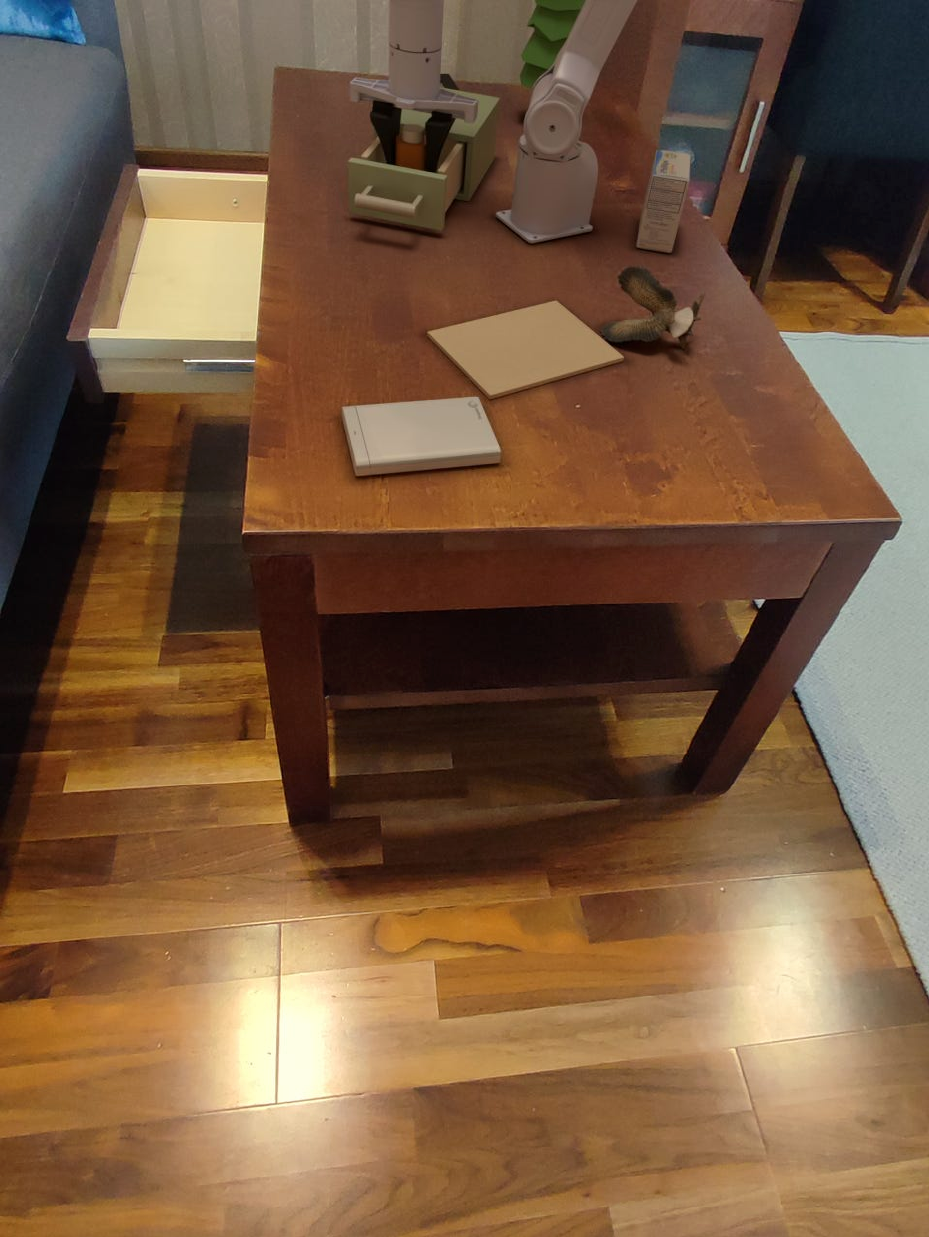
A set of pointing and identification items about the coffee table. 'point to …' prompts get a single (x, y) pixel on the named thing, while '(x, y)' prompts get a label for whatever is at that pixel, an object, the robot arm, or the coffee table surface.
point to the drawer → (406, 186)
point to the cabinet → (468, 138)
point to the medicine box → (664, 201)
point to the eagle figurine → (658, 302)
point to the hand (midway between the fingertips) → (411, 176)
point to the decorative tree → (547, 36)
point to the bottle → (411, 148)
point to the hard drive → (419, 436)
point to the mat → (524, 348)
